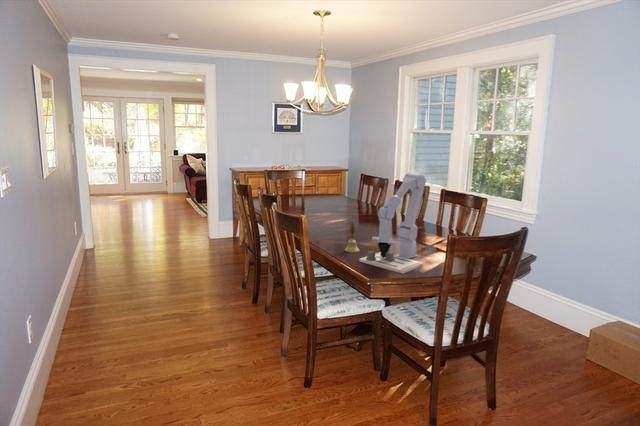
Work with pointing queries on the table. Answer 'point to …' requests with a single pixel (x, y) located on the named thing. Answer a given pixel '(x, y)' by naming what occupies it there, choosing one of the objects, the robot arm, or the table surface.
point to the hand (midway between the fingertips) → (383, 257)
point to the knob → (371, 256)
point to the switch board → (393, 263)
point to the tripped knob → (389, 256)
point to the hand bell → (352, 241)
